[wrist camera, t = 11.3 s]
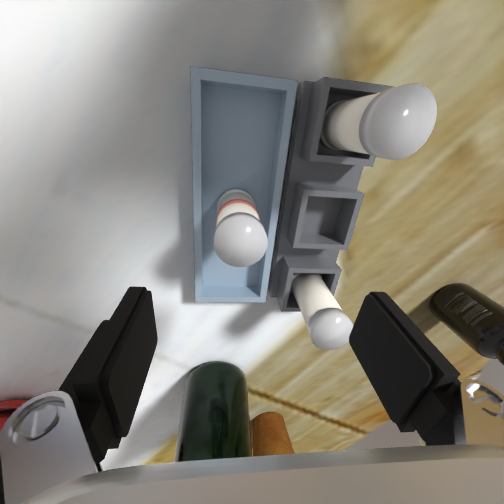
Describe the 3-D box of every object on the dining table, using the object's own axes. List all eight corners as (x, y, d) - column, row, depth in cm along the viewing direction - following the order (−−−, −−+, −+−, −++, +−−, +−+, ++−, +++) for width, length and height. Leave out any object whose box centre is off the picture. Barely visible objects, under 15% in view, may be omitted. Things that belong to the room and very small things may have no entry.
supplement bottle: (426, 319, 40) (498, 387, 30) (430, 288, 37) (512, 351, 26) (466, 308, 40) (553, 373, 29) (473, 276, 37) (574, 335, 26)
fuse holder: (299, 83, 23) (315, 74, 19) (375, 93, 24) (405, 86, 20) (268, 290, 34) (274, 312, 30) (322, 291, 35) (334, 312, 31)
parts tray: (194, 73, 22) (190, 66, 19) (289, 86, 23) (297, 80, 20) (197, 288, 33) (195, 302, 30) (262, 288, 34) (265, 302, 31)
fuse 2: (321, 98, 22) (384, 79, 14) (362, 104, 23) (448, 87, 14) (312, 147, 24) (362, 157, 15) (350, 150, 25) (420, 162, 16)
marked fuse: (218, 186, 26) (214, 217, 17) (255, 188, 27) (270, 219, 18) (217, 222, 28) (213, 266, 19) (252, 224, 28) (264, 267, 20)
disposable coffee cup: (236, 427, 49) (239, 508, 39) (264, 402, 46) (275, 483, 36) (272, 436, 53) (283, 514, 42) (299, 414, 50) (320, 491, 39)
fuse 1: (290, 263, 31) (317, 318, 22) (321, 264, 31) (359, 318, 22) (285, 290, 32) (308, 350, 24) (314, 290, 33) (347, 349, 24)
